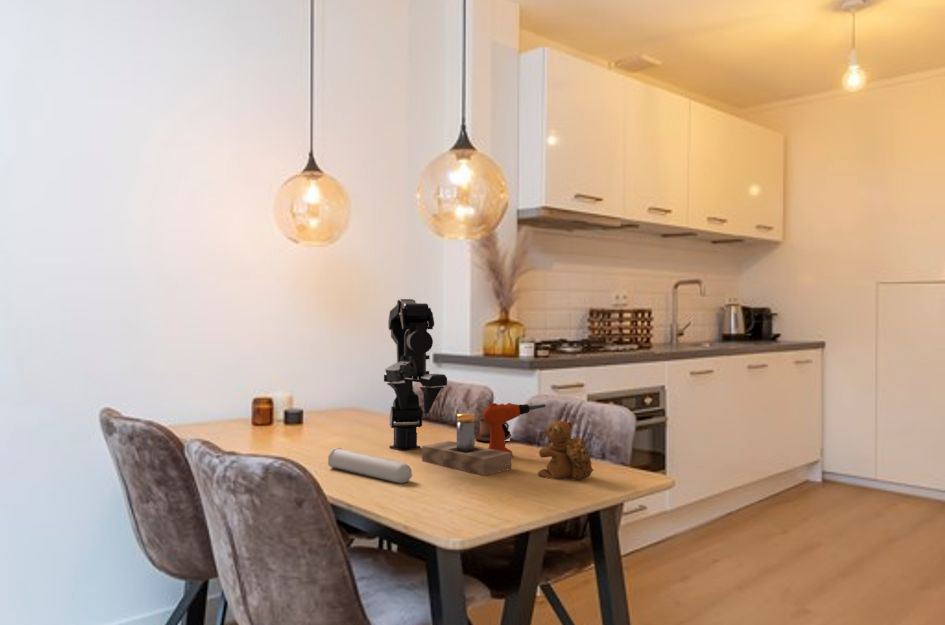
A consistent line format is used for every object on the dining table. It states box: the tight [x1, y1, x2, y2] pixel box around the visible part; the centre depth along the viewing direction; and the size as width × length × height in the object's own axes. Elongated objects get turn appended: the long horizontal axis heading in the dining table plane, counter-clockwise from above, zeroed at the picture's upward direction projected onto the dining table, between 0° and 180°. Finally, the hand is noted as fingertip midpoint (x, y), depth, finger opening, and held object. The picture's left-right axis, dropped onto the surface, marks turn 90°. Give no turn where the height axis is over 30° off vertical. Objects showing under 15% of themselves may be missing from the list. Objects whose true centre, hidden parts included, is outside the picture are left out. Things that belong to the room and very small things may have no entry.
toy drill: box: [482, 402, 547, 455], centre depth 188 cm, size 5×19×15 cm, turn 106°
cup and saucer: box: [475, 418, 512, 443], centre depth 211 cm, size 12×12×6 cm
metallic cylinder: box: [456, 412, 476, 453], centre depth 175 cm, size 5×5×13 cm
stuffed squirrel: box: [537, 420, 594, 481], centre depth 164 cm, size 10×14×13 cm
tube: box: [327, 447, 413, 484], centre depth 164 cm, size 5×5×25 cm
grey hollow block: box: [421, 440, 513, 476], centre depth 175 cm, size 22×10×4 cm, turn 47°
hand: (414, 411), depth 178 cm, fingers open, 9 cm apart
